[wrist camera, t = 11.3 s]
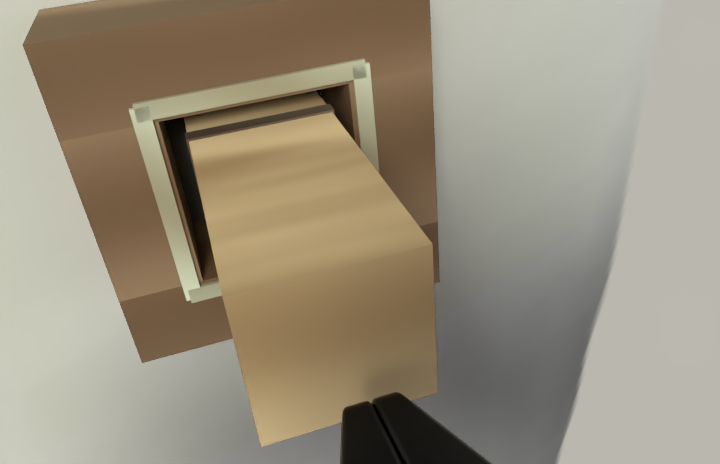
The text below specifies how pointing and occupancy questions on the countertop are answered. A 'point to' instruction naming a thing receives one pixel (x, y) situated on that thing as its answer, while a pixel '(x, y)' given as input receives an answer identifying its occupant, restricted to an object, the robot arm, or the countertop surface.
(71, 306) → the countertop surface
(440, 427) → the robot arm
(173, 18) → the board
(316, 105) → the peg
